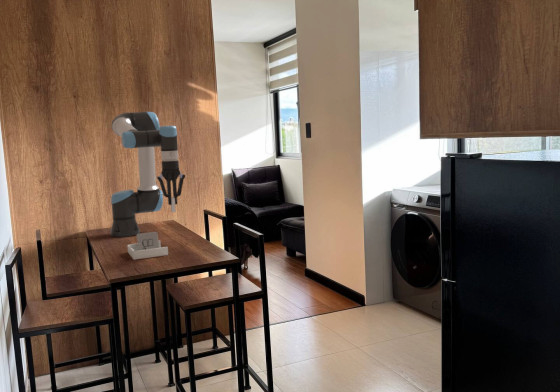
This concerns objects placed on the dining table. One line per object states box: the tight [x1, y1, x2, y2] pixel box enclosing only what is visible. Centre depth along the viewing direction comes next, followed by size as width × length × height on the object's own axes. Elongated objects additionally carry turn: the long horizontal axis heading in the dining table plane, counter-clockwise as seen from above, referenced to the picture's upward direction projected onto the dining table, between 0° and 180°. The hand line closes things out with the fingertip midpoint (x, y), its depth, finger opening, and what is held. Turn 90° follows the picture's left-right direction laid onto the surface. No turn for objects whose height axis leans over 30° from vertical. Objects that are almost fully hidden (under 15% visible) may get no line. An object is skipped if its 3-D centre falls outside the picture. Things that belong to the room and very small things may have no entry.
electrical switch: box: [135, 231, 159, 251], centre depth 243 cm, size 9×5×9 cm, turn 113°
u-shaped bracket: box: [127, 240, 169, 260], centre depth 240 cm, size 16×15×4 cm
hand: (173, 211), depth 244 cm, fingers closed
